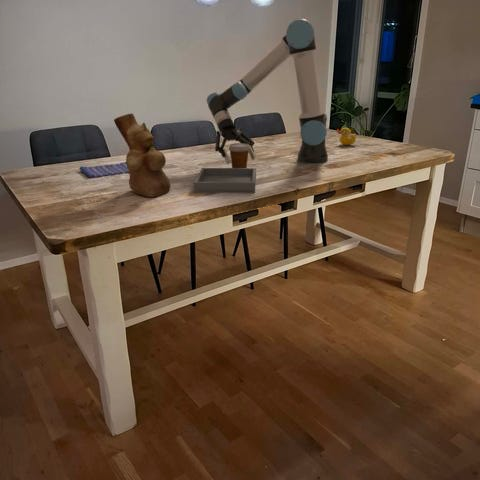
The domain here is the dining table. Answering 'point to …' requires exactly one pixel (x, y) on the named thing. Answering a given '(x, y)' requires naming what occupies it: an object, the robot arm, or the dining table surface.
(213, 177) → the grey tray
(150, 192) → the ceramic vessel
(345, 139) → the duckling
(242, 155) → the disposable coffee cup
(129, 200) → the dining table surface
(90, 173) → the dish towel
